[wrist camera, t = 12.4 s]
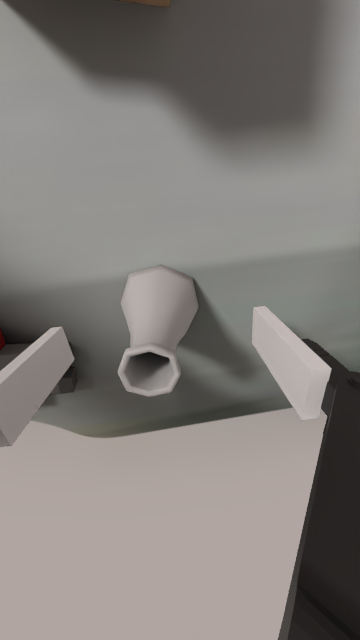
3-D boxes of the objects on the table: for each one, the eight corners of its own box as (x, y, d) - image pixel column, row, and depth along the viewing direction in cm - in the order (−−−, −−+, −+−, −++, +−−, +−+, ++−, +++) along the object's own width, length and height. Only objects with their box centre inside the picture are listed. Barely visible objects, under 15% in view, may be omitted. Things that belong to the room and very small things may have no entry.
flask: (122, 335, 21) (84, 422, 12) (119, 261, 18) (64, 302, 9) (194, 338, 21) (210, 425, 12) (203, 266, 18) (232, 312, 9)
